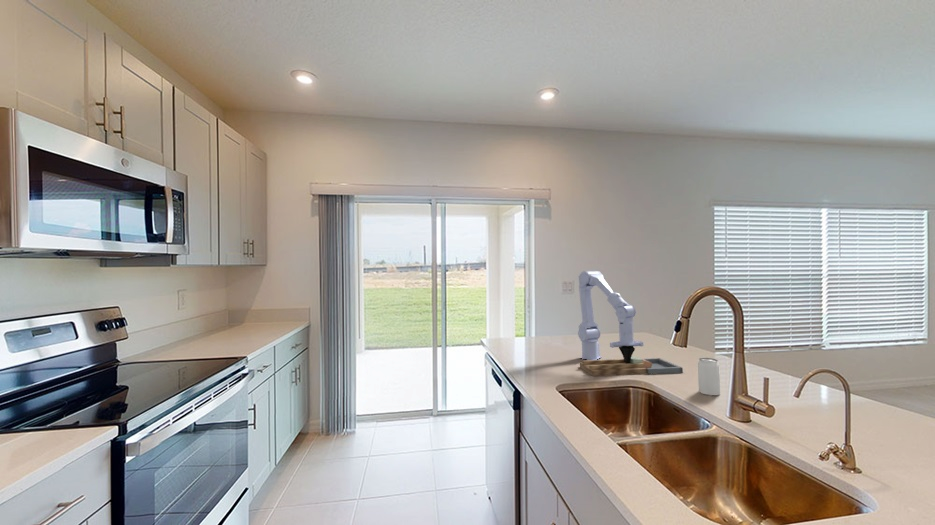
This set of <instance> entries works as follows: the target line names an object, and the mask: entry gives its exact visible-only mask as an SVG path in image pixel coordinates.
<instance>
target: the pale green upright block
mask: <svg viewBox="0 0 935 525" xmlns="http://www.w3.org/2000/svg"><path fill="white" fill-rule="evenodd" d="M640 358H641V357H637V356H635V355H634V356H633V355H632V356H631V359H630V363H628V364H635V363H642V359H643V358H641V359H640Z"/></svg>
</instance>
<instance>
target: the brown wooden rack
mask: <svg viewBox="0 0 935 525" xmlns="http://www.w3.org/2000/svg"><path fill="white" fill-rule="evenodd" d="M580 367H581V369H582V368H583V369H584V370H583V369H582V370H583V371H585V372H586V373H587V372H588V373H587V374H588V375H590V376H592V377H602V376H603V377H604V376H605V377H606V376H621V375H623V376H624V375H642V374H643V375H645V374H646V375H648V374H647V369H646V368H644V364H643V363H635V364H627V363H625V362H624V358H614V359H611V358H609V359H598V360H581V362H579V368H580Z"/></svg>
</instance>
